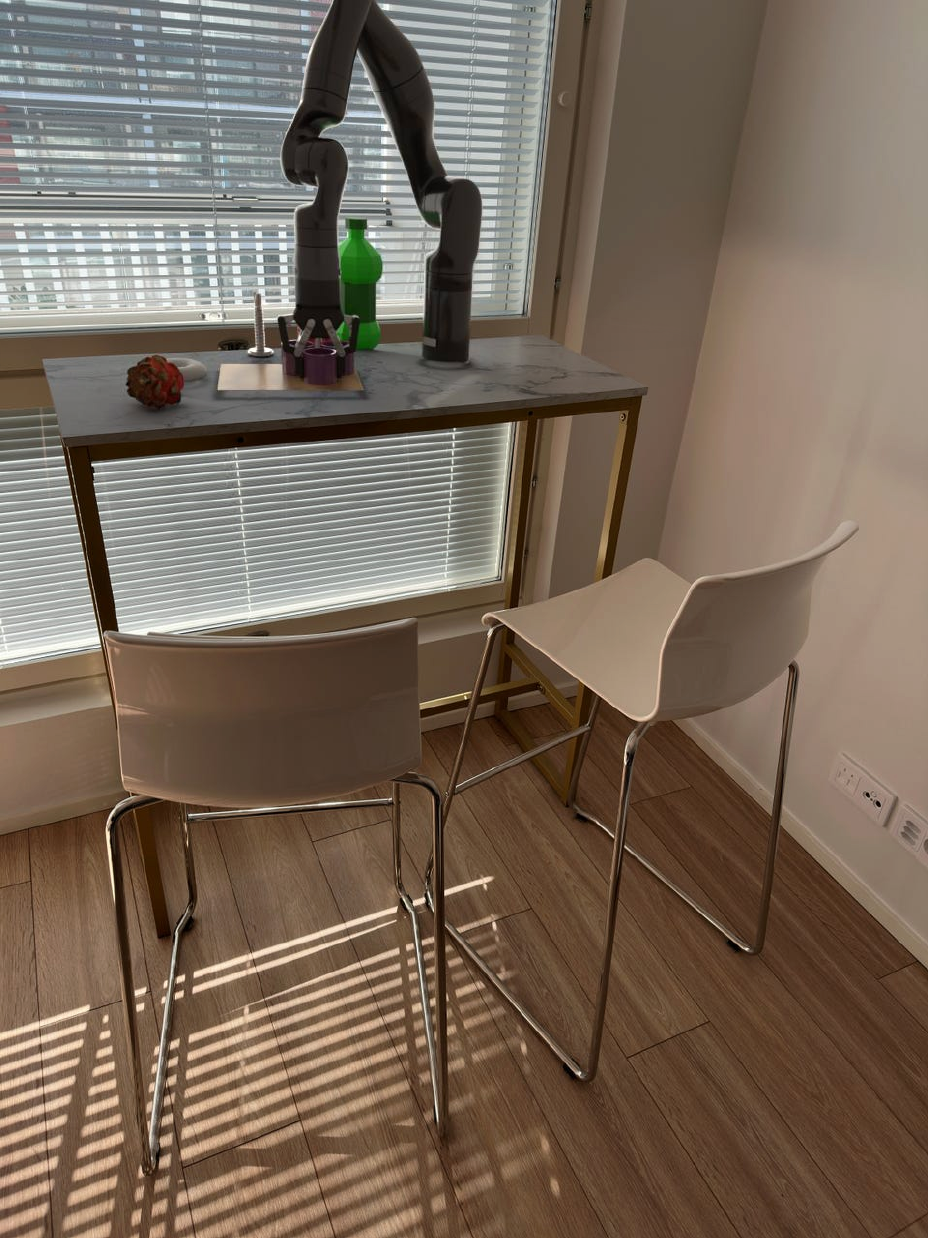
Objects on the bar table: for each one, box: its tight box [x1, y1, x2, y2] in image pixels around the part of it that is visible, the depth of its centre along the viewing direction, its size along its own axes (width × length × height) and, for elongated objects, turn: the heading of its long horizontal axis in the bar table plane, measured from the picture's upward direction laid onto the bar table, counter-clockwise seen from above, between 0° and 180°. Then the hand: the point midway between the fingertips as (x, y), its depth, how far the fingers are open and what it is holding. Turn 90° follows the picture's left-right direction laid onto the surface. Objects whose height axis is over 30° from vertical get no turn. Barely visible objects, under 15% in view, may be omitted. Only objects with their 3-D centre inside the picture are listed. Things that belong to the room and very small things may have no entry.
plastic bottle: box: [336, 216, 384, 351], centre depth 176 cm, size 10×10×25 cm
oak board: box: [216, 363, 364, 391], centre depth 158 cm, size 24×18×2 cm
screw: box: [247, 290, 275, 358], centre depth 168 cm, size 13×5×5 cm
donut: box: [166, 357, 208, 382], centre depth 155 cm, size 10×4×10 cm
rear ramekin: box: [280, 339, 315, 376], centre depth 159 cm, size 6×6×5 cm
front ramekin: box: [302, 347, 337, 385], centre depth 155 cm, size 6×6×5 cm
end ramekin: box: [320, 340, 355, 376], centre depth 160 cm, size 6×6×5 cm
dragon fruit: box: [125, 354, 185, 411], centre depth 141 cm, size 8×8×12 cm
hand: (320, 377), depth 155 cm, fingers closed on front ramekin, 6 cm apart
